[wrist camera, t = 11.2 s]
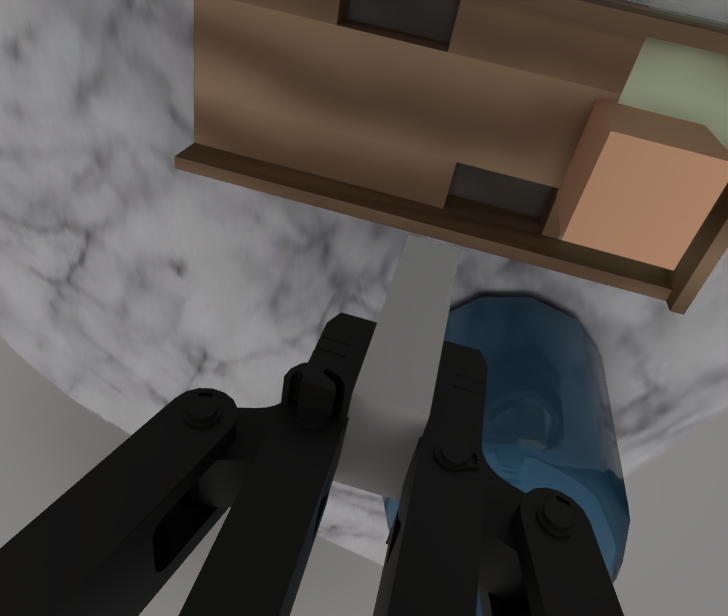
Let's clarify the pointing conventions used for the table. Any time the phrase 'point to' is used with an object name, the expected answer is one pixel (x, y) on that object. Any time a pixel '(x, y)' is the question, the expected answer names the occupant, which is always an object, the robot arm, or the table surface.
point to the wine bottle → (545, 411)
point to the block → (640, 184)
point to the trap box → (451, 114)
